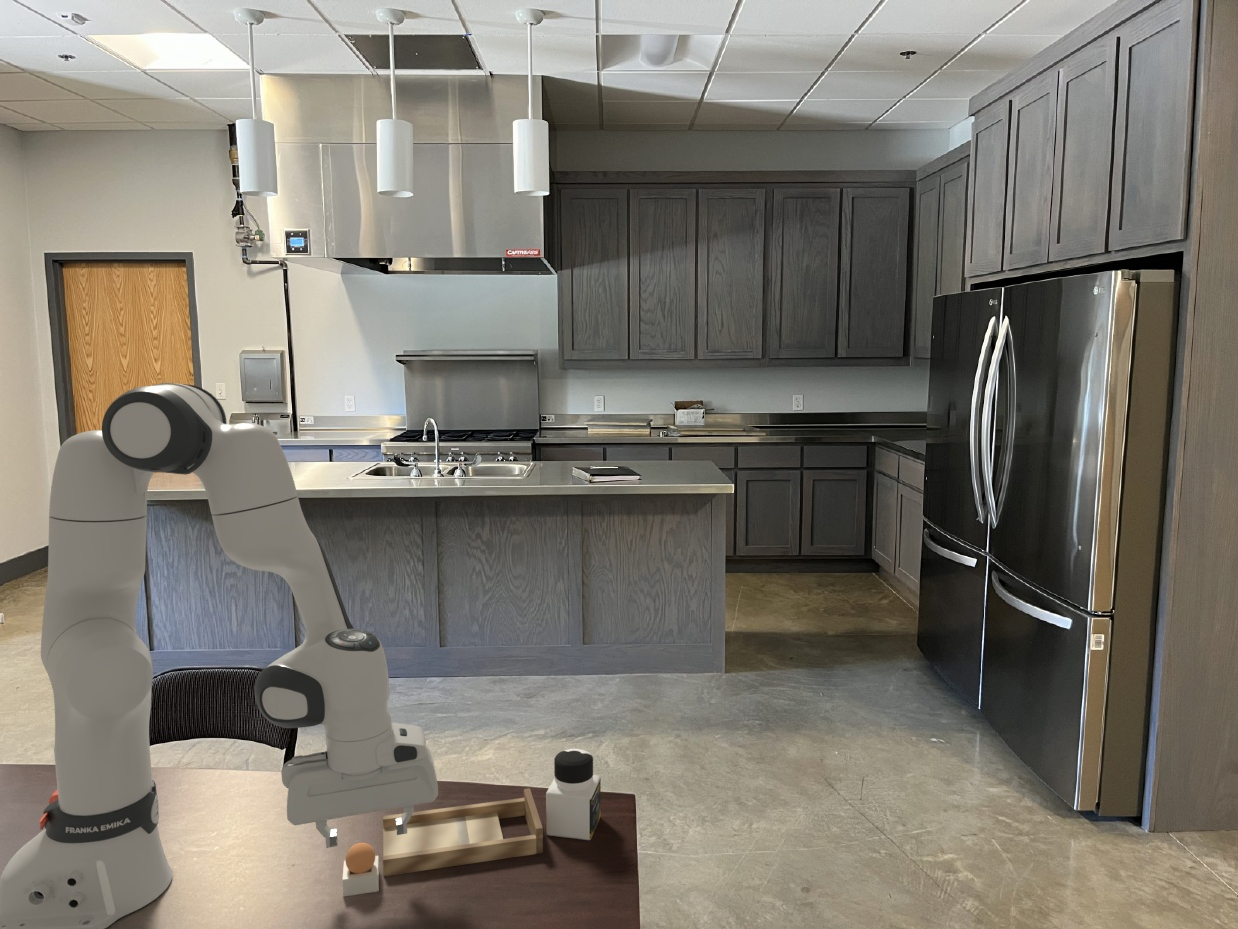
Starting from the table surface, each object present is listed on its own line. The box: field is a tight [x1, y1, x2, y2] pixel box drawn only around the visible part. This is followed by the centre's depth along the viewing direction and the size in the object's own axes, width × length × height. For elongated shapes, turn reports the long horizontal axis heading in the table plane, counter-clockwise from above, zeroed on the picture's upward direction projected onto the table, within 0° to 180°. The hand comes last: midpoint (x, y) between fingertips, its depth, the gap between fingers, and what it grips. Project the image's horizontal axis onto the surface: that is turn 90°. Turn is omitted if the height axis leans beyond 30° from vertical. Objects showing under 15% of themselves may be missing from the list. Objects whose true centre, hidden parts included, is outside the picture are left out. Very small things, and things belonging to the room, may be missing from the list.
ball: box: [345, 842, 376, 874], centre depth 122 cm, size 4×4×4 cm
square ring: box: [342, 855, 380, 898], centre depth 122 cm, size 5×5×2 cm
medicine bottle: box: [545, 748, 602, 841], centre depth 137 cm, size 7×7×12 cm
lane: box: [382, 787, 544, 877], centre depth 133 cm, size 23×12×4 cm, turn 105°
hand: (367, 838), depth 122 cm, fingers open, 8 cm apart
